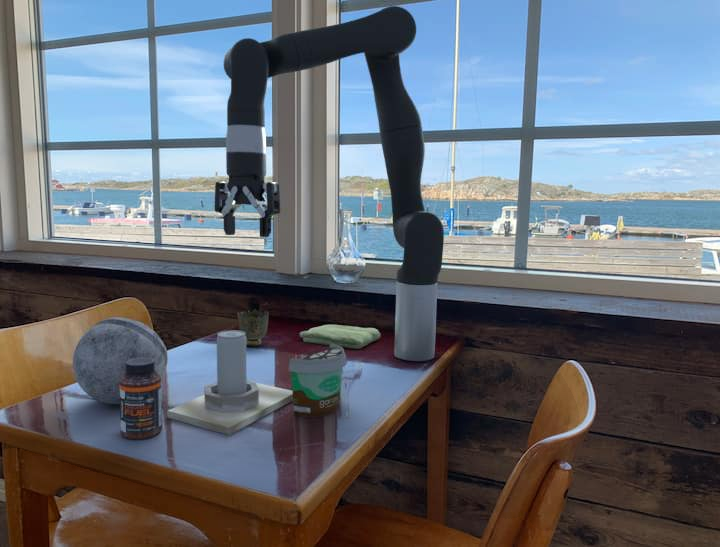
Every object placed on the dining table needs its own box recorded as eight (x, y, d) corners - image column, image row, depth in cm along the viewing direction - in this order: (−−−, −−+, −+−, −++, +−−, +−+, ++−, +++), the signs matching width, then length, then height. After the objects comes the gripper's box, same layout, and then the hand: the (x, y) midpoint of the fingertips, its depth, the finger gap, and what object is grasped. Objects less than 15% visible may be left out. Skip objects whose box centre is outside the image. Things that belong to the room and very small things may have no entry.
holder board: (240, 385, 106) (240, 366, 106) (296, 398, 100) (296, 378, 100) (167, 417, 90) (167, 395, 90) (229, 435, 84) (229, 411, 84)
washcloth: (322, 331, 151) (322, 320, 150) (382, 340, 143) (382, 328, 143) (296, 342, 139) (296, 330, 139) (360, 352, 132) (360, 339, 131)
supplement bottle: (120, 443, 81) (117, 368, 79) (120, 427, 86) (117, 357, 85) (164, 437, 83) (162, 364, 82) (161, 422, 89) (159, 353, 87)
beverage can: (239, 409, 92) (239, 338, 90) (212, 406, 92) (211, 336, 91) (251, 398, 96) (250, 331, 94) (225, 396, 97) (224, 329, 95)
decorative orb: (182, 391, 102) (180, 311, 100) (135, 422, 88) (132, 330, 86) (110, 384, 105) (107, 306, 103) (54, 413, 91) (49, 324, 89)
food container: (318, 426, 88) (319, 365, 87) (288, 417, 92) (288, 358, 90) (359, 402, 99) (360, 348, 97) (331, 395, 102) (331, 342, 100)
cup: (275, 344, 136) (275, 312, 135) (254, 350, 130) (254, 317, 128) (252, 339, 140) (252, 308, 139) (231, 345, 133) (230, 313, 132)
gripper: (288, 152, 107) (288, 236, 109) (230, 153, 113) (231, 233, 115) (264, 149, 100) (264, 239, 102) (204, 150, 107) (205, 235, 109)
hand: (247, 235), depth 109 cm, fingers open, 8 cm apart
